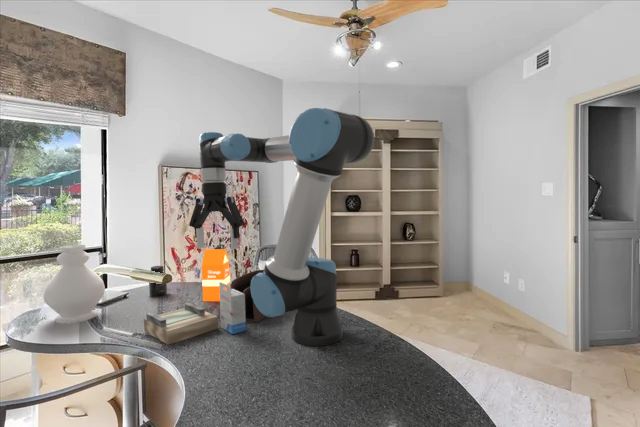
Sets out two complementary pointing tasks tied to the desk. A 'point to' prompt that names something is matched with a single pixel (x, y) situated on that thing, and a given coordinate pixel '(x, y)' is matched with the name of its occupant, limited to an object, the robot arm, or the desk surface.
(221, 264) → the orange juice
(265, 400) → the desk surface
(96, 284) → the decorative vase
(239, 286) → the letter holder
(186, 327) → the box
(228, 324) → the ink box
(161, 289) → the supplement bottle
